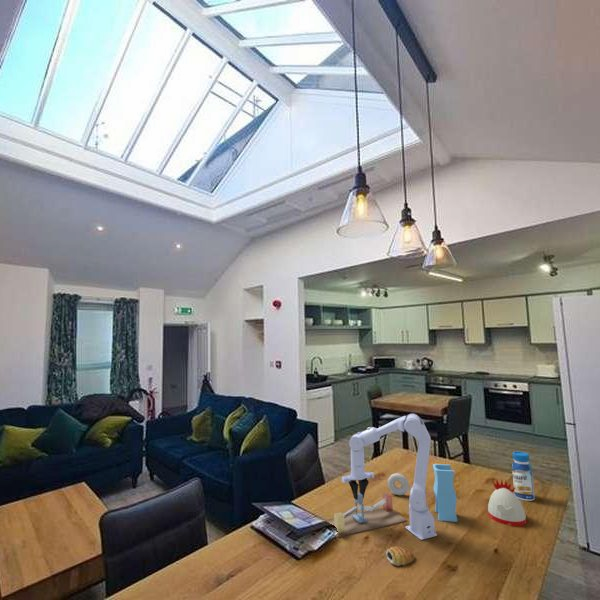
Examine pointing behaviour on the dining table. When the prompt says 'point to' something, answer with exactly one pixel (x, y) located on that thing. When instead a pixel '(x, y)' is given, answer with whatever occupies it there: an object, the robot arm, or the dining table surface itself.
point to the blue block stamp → (360, 517)
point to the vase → (445, 493)
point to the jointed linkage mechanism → (340, 517)
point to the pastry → (399, 556)
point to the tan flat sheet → (369, 521)
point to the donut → (400, 478)
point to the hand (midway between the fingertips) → (358, 498)
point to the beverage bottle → (522, 476)
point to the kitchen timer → (506, 506)
